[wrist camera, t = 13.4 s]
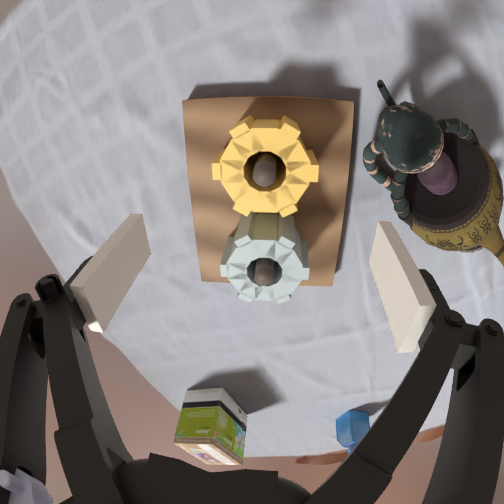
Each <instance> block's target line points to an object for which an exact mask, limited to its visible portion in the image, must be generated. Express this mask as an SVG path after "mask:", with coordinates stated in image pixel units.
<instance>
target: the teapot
mask: <svg viewBox="0 0 504 504" xmlns="http://www.w3.org/2000/svg"><path fill="white" fill-rule="evenodd" d="M377 86H378V88H379V90H380V92H381V94H382V96H383V98H384V99H385V101H386V103H387V104H388V106H389V107H387V108H385V109H384V110H383V111H382V113H381V114H380V117H379V121H378V130H377V133H378V137H379V139H376V140H374V141H371V142H370V143H369V144H368V145H367V146H366V147H365V148H364V151H363V162H364V166H365V168H366V169H367V171H368V172H369V174H370V175H371V176H372V177H373V178H374V179H375V180H376V181H377V182H379V183H380V184H381V185H383V186H384V187H385V188H387V189H388V190H389V191H391V192H392V193H391V199H392V201H393V203H394V209H395V211H396V213H397V214H398V217H399V218H400V219H401V220H403V221H404V222H405V223H407V224H408V225H409V226H410V228H411V230H412V231H414V232H415V233H416V234H417V235H418V236H419V237H420V238H422V239H423V240H424V241H425V242H426V243H427V244H429V245H432V246H435V247H437V248H440V249H442V250H447V251H460V252H475V251H478V250H481V249H482V248H486V249H487V250H489V251H491V252H492V253H493V254H494V255H495V256H496V257H497V259H498V260H499V261H500V262H501V263H502V265H503V266H504V239H503V237H502V234H501V231H500V228H499V225H498V224H499V219H500V215H501V210H502V206H503V199H504V198H503V186H502V179H501V177H500V174H499V172H498V170H497V167H496V165H495V163H494V161H493V159H492V157H491V156H490V155H489V154H488V153H487V152H486V151H485V150H484V149H483V148H482V146H480V144H479V142H478V139H477V137H476V135H475V132H474V131H473V130H472V129H470V127H469V126H468V125H467V124H465V123H462V122H461V121H460V120H458V119H456V118H453V119H443V118H442V119H440V121H437V122H436V121H435V120H434V119H433V118H432V117H431V116H429V115H428V114H427V113H425V112H424V111H422V110H421V109H420V108H419V107H418V106H416V105H414V104H412V103H409V102H405V101H404V102H402V103H400V105H396V104H395V102H394V100H393V99H392V97H391V95H390V94H389V92H388V90H387V88H386V86H385V84H384V83H383V81H382V80H378V82H377ZM380 153H384V154H385V156H386V158H387V159H388V161H389V162H390V163H391V165H392V166H393V167H395V168H396V172H395V175H394V177H393V178H392V179H391V178H390V177H389V176H387V175H386V174H385V173H384V172H383V171H381V170H380V169H379V168H378V167H377V165H376V160H375V158H376V156H377V155H378V154H380Z"/></svg>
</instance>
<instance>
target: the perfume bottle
mask: <svg viewBox="0 0 504 504" xmlns="http://www.w3.org/2000/svg"><path fill="white" fill-rule="evenodd" d="M369 429H370V424H369V416H368V412H360V411H352V410H349V411H347V412H346V413H345V414H343V415H342V416H340V417H339V418H338V419H336V432H337V441H338V442H339V443H340V444H341V445H342V446H343V447H348V448H349V449H348V454H350V453H351V451H352V450H353V449H354V448H355V447H356V445H357V444H358V443H359V442H360V440H361V439H362V438H363V437H364V435H365V434H366V433H367V431H368V430H369Z"/></svg>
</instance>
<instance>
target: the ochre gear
mask: <svg viewBox="0 0 504 504" xmlns="http://www.w3.org/2000/svg"><path fill="white" fill-rule="evenodd" d="M229 133H230V134H231V136H232V137H233V138H232V139H231V141H230V143H229V144H228V146H227V148H223V150H222V151H221V152H220V153H219V155H218V156H217V157H216V159H215V160H214V161H213V162H212V175H213V180H221V183H222V185H223V186H224V188H225V189H226V191H227V192H228V194H229V195H230V197H231V198H232V200H233V201H234V202H235V203H234V206H233V209H234V210H235V211H237V212H239V213H241V214H243V215H245V216H248V215H249V213H250V212H251V211H252V212H271V213H277V212H280V214H281V216H282V217H285V216H287V215H290V214H292V213H294V212H296V211H298V209H297V202H298V200H299V199H300V197H301V196H302V194H303V193H304V192H305V190H306V189H307V187H308V186H309V182H318V172H319V164H318V162H317V160H316V157H315V155H314V153H313V150H306V147H305V145H304V144H303V142H302V140H301V138H300V136H299V135H300V133H301V131H300V128H299V126H298V123H297V122H295V121H293V120H292V119H290V118H288V117H287V116H285V115H284V116H283V117H282V119H281V120H278V119H257V120H254V118H253V117H252V115H250V116H248V117H246V118H244V119H243V120H241V121H239V122H238V123H237V124H236V125H235V126H234V127H233V128H232V129H231V130H230V131H229ZM259 151H270V152H272V153H274V154H276V155H278V156H279V157H281V158H282V160H283V162H284V163H283V165H282V166H281V168H279V169H277V170H276V179H275V181H274V183H273V184H271V185H270V186H266V187H263V186H259V185H258V184H256V183H255V181H254V180H253V171H254V165H253V163H252V162H251V160H250V156H251V155H253V154H255V153H257V152H259Z"/></svg>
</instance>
